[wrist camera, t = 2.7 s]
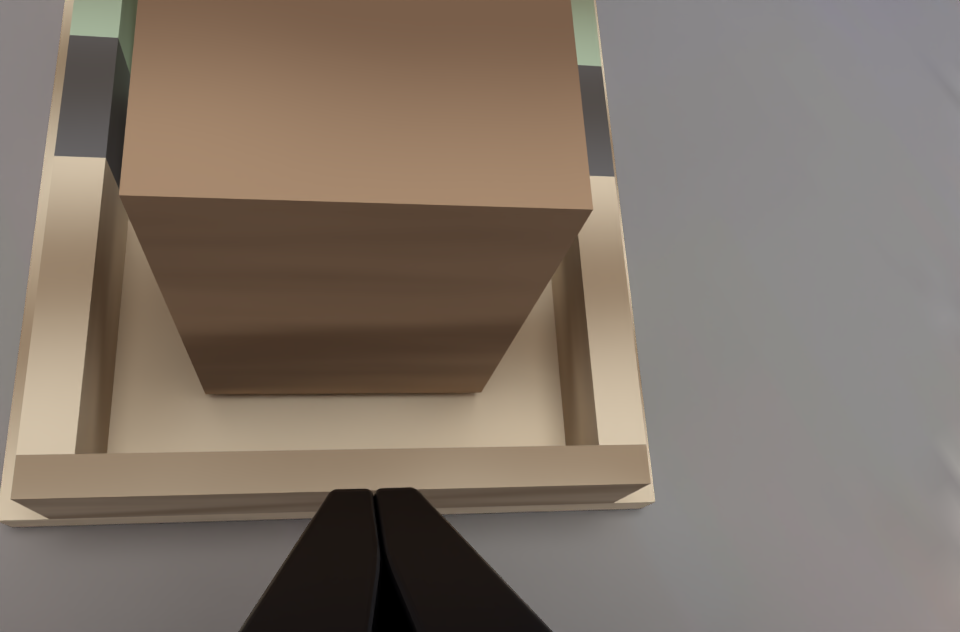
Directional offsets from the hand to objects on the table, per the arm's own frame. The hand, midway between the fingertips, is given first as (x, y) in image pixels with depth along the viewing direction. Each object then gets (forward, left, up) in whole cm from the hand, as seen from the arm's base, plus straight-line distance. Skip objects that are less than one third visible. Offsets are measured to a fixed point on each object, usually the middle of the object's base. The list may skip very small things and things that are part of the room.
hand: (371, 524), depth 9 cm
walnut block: (+7, 0, -10) cm, 12 cm away
